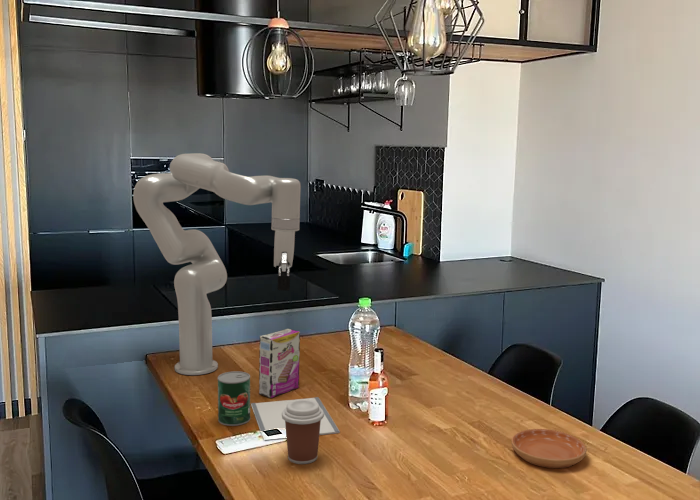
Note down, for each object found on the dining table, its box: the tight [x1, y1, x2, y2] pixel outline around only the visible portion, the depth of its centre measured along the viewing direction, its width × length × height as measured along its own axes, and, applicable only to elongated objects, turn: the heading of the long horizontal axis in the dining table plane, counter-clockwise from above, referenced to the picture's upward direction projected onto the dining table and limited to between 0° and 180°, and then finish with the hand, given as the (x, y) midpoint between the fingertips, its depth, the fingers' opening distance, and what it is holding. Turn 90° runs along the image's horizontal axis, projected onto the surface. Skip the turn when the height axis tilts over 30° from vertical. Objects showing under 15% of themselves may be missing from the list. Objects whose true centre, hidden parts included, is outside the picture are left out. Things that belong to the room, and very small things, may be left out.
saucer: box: [511, 428, 588, 469], centre depth 152 cm, size 16×16×3 cm
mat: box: [250, 396, 341, 436], centre depth 170 cm, size 22×18×1 cm
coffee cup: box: [282, 398, 324, 465], centre depth 148 cm, size 9×9×12 cm
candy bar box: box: [258, 328, 301, 399], centre depth 187 cm, size 11×5×16 cm, turn 141°
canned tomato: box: [217, 370, 251, 427], centre depth 168 cm, size 8×8×11 cm
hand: (283, 286), depth 188 cm, fingers open, 9 cm apart
